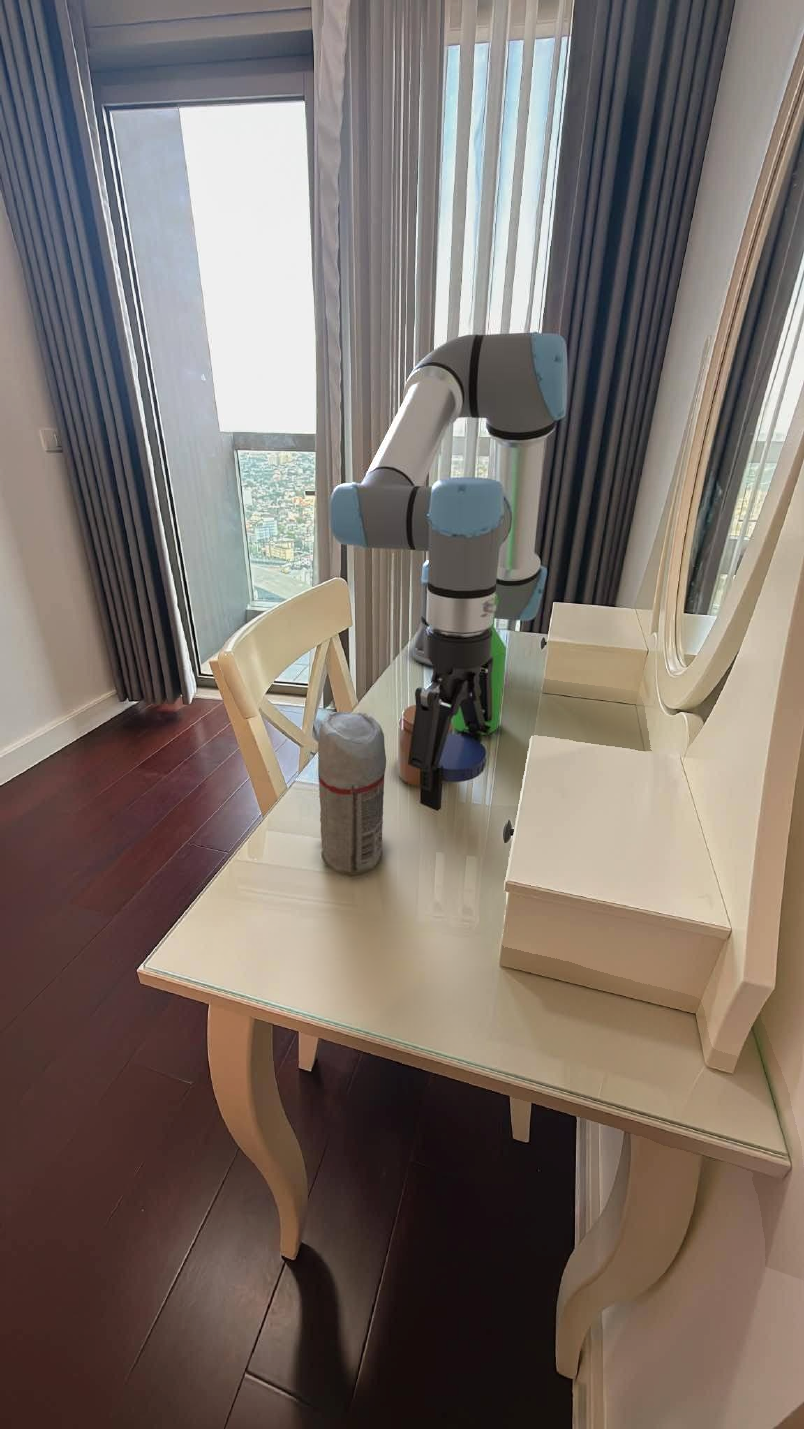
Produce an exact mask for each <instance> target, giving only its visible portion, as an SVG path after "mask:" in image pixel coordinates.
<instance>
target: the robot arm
mask: <svg viewBox="0 0 804 1429" xmlns="http://www.w3.org/2000/svg"><path fill="white" fill-rule="evenodd" d="M568 368H569V367H568V349H567V342H566V340H565V338H564V337H563V336H562V335H560V334H559V333H548V332H547V333H545V332H543V333H542V332H538V331H533V332H515V333H512V332H511V333H491V334H478V333H475V334H466V335H461V336H458V337H455V338H453V339H450V340H448V341H446V342H445V343H443V344H441V345H440V346H438V347H437V348H435V349H433V350H432V351H431V352H430V353H428V354H427V355H425V357H423V359H421V360H420V361H419V362H418V363H417V365H416V366H415V367H414V368H413V369H412V371H411V373H410V374H409V376H408V378H407V380H406V382H405V383H404V387H403V391H402V401H403V402H402V404H401V406H400V408H399V410H398V412H397V414H396V416H395V418H394V420H393V421H392V423H391V426H390V427H389V429H388V431H387V433H386V435H385V437H384V439H383V441H382V443H381V445H380V447H379V449H378V451H377V453H376V455H375V456H374V458H373V460H372V463H371V464H370V466H369V468H368V471H367V472H366V474H365V476H364V477H363V480H361V483H359V482H356V481H353V482H351V483H341V484H339V485H337V486H336V487H335V488H334V489H333V492H332V493H331V497H330V501H329V506H328V507H329V509H328V510H329V512H328V517H329V525H330V528H331V533H332V535H333V537H334V539H335V540H336V542H338V543H339V544H341V545H343V546H353V547H360V548H363V549H384V550H402V551H403V550H405V551H417V552H428V559H427V560H425V562H424V563H423V565H422V571H421V579H420V583H421V587H420V588H421V591H420V593H421V599H420V625H419V627H418V630H417V633H416V636H415V639H414V642H413V645H412V656H413V658H414V660H415V661H417V662H418V663H421V664H423V665H426V666H429V667H433V672H432V676H431V679H430V684H429V685H428V686H426V688H425V687H422V686H417V688H416V689H415V690H414V691H415V692H414V701H415V705H416V710H415V717H414V724H413V731H412V738H411V745H410V752H409V759H408V764H409V765H410V766H413V767H415V768H417V769H420V787H419V788H420V790H419V791H420V794H419V795H420V796H419V801H420V802H419V803H420V805H423V806H425V807H427V808H429V809H431V810H434V811H435V812H439V811H440V810H441V809H442V797H443V783H442V778H443V765H441V764H439V762H440V759H441V755H442V752H443V748H444V745H445V741H446V738H447V734H448V731H449V727H450V724H451V720H452V717H453V716H454V715H456V714H457V713H458V710H459V706H460V708H461V712H462V715H463V719H464V722H465V726H466V727H468V729H465V728H464V729H463V730H461V732H460V734H462V735H466V736H469V737H472V738H474V739H476V740H478V741H479V742H480V743H481V744H482V739H483V738H482V737H483V735H482V734H481V733H485V734H486V735H489V734H490V733H489V731H490V726H488V725H485V723H486V722H488V723H490V722H491V721H492V675H491V674H492V668H493V661H494V659H493V658H492V657H490V655H491V644H492V630H491V629H490V626H492V624H493V615H494V612H495V619H498V620H507V621H513V622H517V621H524V622H525V621H526V622H529V621H532V620H533V619H535V618H536V616H537V614H538V611H539V608H540V604H541V600H542V596H543V592H544V588H545V585H546V584H545V583H546V580H547V574H548V570H547V567H545V566H543V565H541V562H542V561H541V558H540V557H539V555H538V553H536V552H535V548H536V537H537V536H536V535H537V526H538V516H539V505H540V494H541V484H542V473H543V463H544V462H543V461H544V451H545V442H546V438H548V437H549V436H550V435H551V434H553V432H554V431H555V429H556V425H557V424H556V423H557V421H560V420H561V419H563V418H565V416H566V413H567V405H568V404H567V403H568V402H567V401H568V374H569V373H568ZM461 418H463V419H464V418H472V419H485V431H486V433H487V434H488V435H489V436H490V437H491V438H492V439H493V440H494V442H493V479H492V478H487V477H471V476H465V477H464V476H463V477H461V476H460V477H458V476H457V477H448V478H441V479H438V480H436V481H435V482H434V483H433V485H432V486H424V484H425V482H426V480H427V477H428V475H429V473H430V470H431V468H432V465H433V463H434V460H435V458H436V456H437V454H438V451H439V448H440V446H441V445H442V444H441V443H442V441H443V439H444V437H445V434H446V432H447V430H448V429H447V428H449V427H450V426H452V425H453V424H454V423H455V422H456V421H457V420H458V419H461ZM495 594H496V595H497V598H498V605H497V606H496V605H495V604H494V603H495ZM442 703H444V704H447V705H444V704H442ZM448 705H449V706H448ZM482 709H483V710H485V712H483V711H482ZM488 733H489V734H488Z"/></svg>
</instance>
